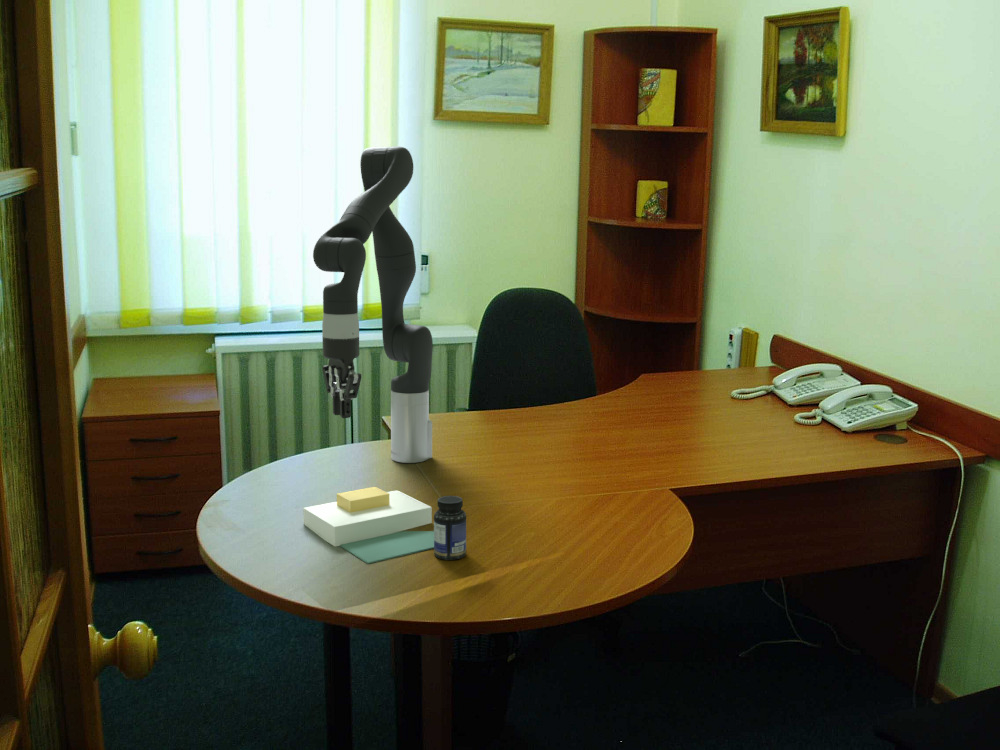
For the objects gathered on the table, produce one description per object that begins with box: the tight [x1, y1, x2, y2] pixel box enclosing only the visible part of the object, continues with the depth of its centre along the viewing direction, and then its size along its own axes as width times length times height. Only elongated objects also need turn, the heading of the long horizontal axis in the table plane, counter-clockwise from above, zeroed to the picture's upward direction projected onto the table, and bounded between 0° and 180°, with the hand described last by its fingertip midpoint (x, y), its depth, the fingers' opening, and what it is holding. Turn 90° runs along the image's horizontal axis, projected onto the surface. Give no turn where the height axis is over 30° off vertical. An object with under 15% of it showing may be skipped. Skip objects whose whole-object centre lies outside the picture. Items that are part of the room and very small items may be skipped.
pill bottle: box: [433, 495, 467, 561], centre depth 180 cm, size 6×6×11 cm
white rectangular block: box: [303, 489, 433, 548], centre depth 196 cm, size 22×14×4 cm, turn 126°
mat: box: [339, 530, 434, 565], centre depth 186 cm, size 20×11×1 cm, turn 126°
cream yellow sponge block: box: [336, 486, 390, 513], centre depth 197 cm, size 9×6×2 cm, turn 126°
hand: (341, 415), depth 201 cm, fingers open, 3 cm apart
